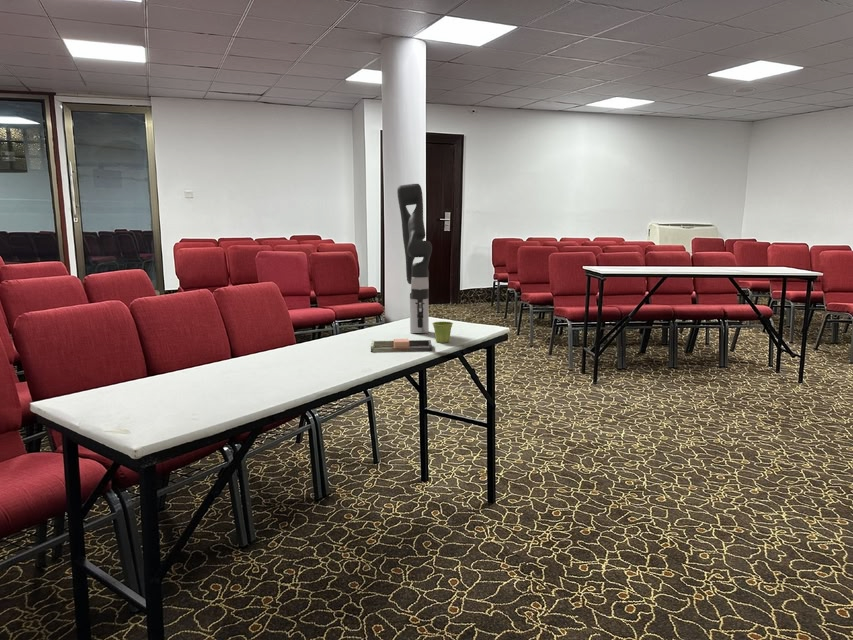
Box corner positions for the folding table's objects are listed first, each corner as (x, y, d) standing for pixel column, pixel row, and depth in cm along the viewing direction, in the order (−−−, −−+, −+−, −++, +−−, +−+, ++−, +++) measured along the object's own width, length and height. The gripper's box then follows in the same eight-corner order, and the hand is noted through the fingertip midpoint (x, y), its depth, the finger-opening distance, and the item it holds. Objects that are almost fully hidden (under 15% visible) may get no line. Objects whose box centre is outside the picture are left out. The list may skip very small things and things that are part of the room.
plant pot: (453, 343, 264) (453, 324, 263) (432, 343, 264) (432, 324, 263) (452, 339, 274) (452, 321, 272) (432, 339, 274) (432, 321, 272)
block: (393, 347, 257) (393, 339, 257) (408, 347, 258) (408, 338, 257) (394, 351, 251) (394, 341, 250) (409, 350, 252) (409, 341, 251)
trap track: (372, 346, 260) (372, 340, 259) (430, 345, 261) (430, 340, 260) (370, 352, 248) (370, 346, 248) (431, 351, 249) (431, 345, 249)
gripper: (411, 286, 257) (411, 325, 259) (411, 289, 244) (411, 330, 246) (428, 286, 257) (428, 325, 260) (429, 288, 244) (429, 329, 247)
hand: (420, 327), depth 253 cm, fingers closed
